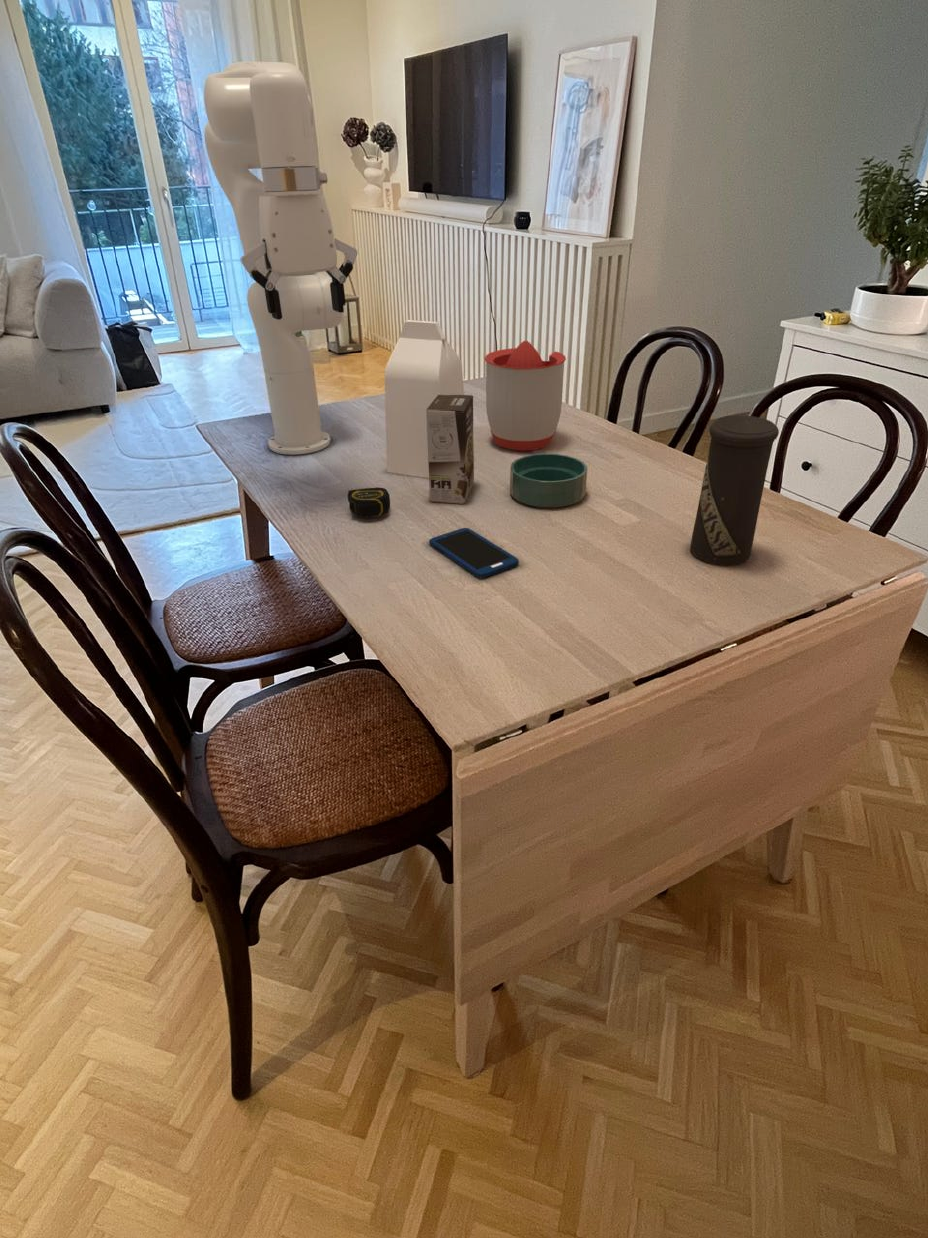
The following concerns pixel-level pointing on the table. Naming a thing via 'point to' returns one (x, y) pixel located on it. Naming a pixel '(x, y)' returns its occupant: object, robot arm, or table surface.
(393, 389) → the milk
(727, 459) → the container
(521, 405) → the citrus juicer
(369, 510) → the tape measure
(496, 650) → the table surface
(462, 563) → the cell phone
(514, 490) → the green bowl
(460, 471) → the coffee box
